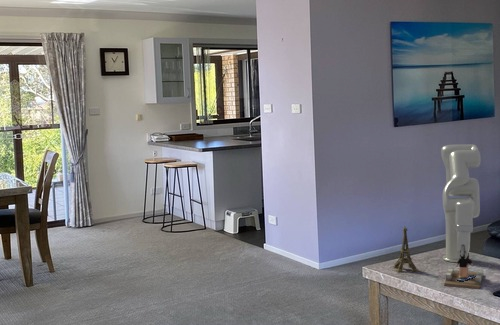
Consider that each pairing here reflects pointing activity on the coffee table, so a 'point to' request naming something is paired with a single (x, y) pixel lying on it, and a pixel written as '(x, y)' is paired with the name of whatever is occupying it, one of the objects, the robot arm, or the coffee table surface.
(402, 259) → the eiffel tower
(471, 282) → the board
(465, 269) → the grandmother figurine
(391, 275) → the coffee table surface
